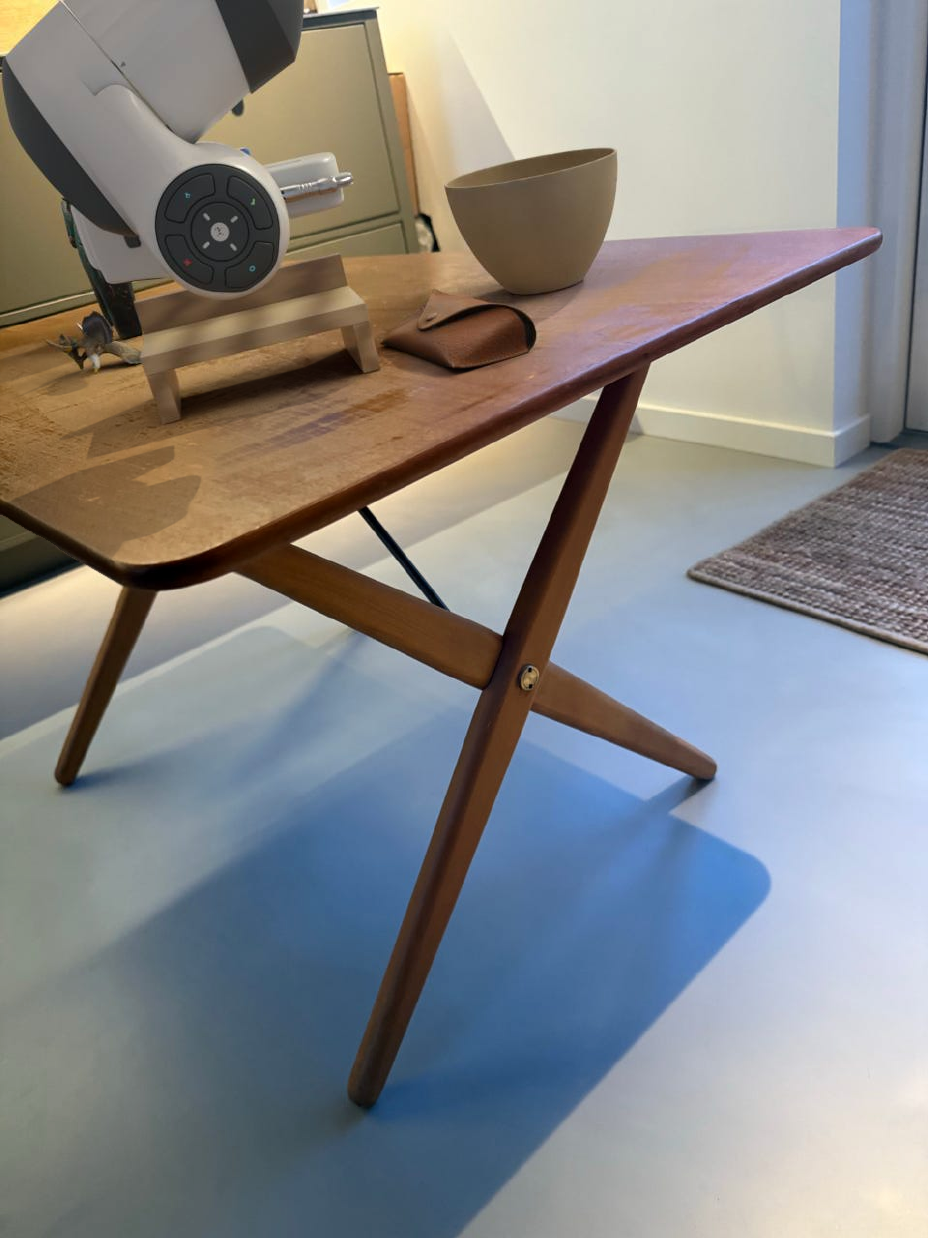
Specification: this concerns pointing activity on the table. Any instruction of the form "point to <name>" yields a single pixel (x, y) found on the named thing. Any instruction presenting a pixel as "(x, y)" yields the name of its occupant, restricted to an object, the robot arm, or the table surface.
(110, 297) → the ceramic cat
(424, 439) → the table surface
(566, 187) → the flower pot
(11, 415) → the table surface
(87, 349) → the eagle figurine
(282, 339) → the shelf
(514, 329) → the sunglasses case
